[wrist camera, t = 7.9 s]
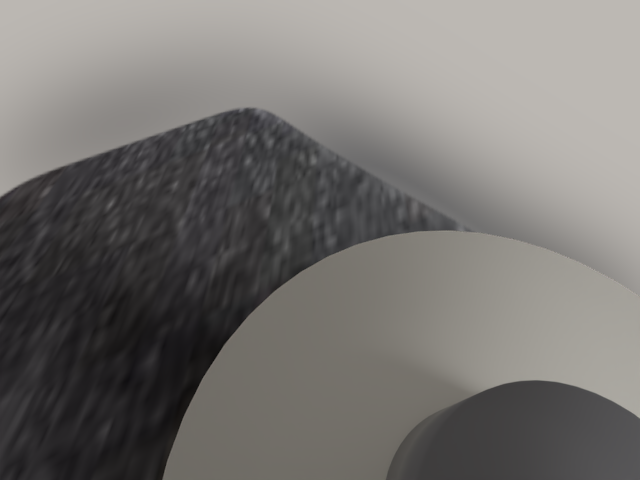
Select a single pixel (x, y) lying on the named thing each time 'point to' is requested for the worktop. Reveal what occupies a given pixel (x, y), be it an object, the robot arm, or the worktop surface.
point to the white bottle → (425, 371)
